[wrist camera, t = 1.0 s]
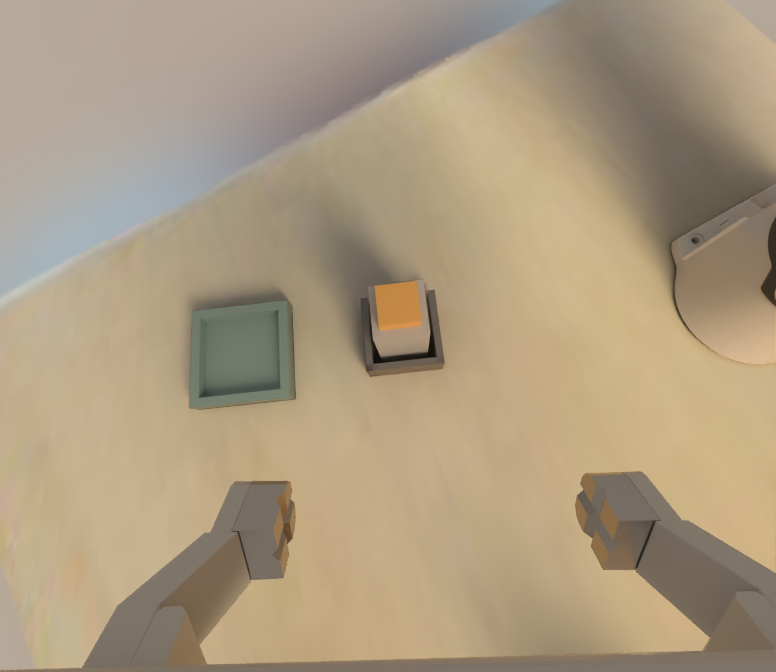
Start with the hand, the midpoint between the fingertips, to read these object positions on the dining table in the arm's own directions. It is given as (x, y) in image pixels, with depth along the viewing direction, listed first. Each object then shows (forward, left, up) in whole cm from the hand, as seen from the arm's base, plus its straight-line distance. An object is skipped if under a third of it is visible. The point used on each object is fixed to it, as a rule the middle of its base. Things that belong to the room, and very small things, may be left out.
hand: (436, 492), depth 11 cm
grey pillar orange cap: (-7, -11, -32) cm, 34 cm away
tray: (+8, -21, -32) cm, 39 cm away
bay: (-7, -11, -32) cm, 34 cm away
